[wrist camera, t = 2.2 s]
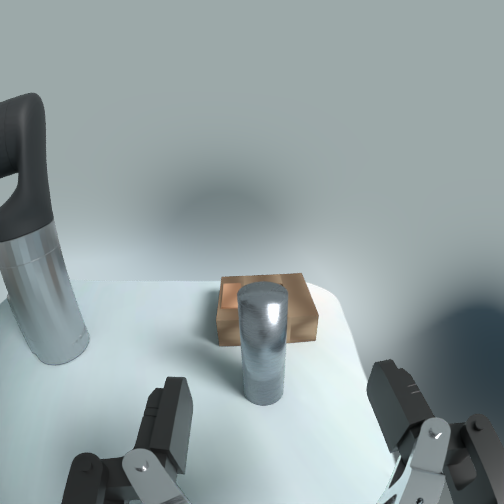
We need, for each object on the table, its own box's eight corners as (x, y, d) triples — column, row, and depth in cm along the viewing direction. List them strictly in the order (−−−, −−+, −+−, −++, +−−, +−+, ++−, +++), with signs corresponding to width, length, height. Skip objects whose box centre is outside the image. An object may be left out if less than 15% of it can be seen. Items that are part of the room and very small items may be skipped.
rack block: (219, 346, 34) (215, 319, 32) (223, 299, 44) (221, 275, 42) (315, 340, 34) (318, 313, 32) (300, 295, 44) (301, 271, 42)
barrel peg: (244, 406, 25) (236, 309, 20) (244, 378, 28) (237, 282, 24) (285, 403, 25) (291, 306, 20) (281, 375, 29) (284, 280, 24)
